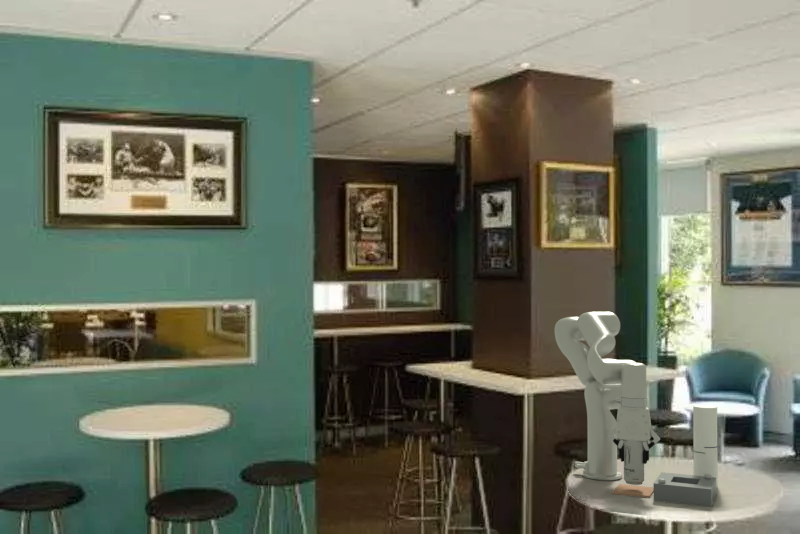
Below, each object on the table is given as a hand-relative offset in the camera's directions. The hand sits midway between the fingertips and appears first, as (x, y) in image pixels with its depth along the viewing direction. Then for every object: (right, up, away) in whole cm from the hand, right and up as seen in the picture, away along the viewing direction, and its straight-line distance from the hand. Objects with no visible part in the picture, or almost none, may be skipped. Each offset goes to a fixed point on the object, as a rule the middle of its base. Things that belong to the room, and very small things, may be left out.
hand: (634, 461), depth 257 cm
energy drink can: (0, -7, 0) cm, 7 cm away
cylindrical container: (+25, -10, +8) cm, 28 cm away
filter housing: (+14, -9, -7) cm, 18 cm away
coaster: (0, -9, 0) cm, 9 cm away
